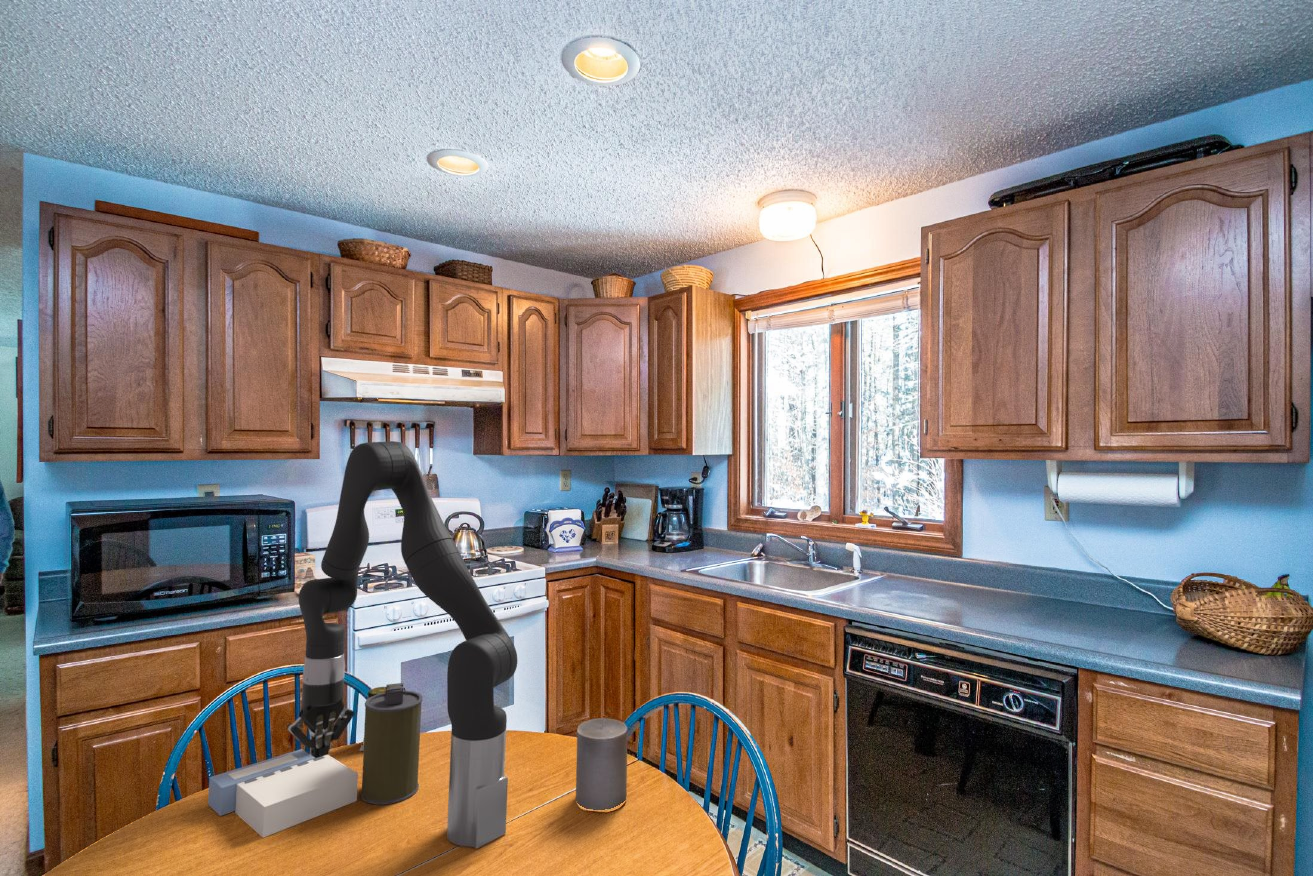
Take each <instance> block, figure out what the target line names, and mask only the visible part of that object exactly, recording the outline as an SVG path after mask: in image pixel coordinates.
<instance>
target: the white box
mask: <svg viewBox="0 0 1313 876" xmlns="http://www.w3.org/2000/svg"><path fill="white" fill-rule="evenodd" d="M358 782H359V773H358V772H357V771H355V770H354V769H351V768H350V767H348V766H347V765H346V764H343V763H342V762H340V761H338V760H337V759H336V758H334V757H332V756H330V755H329V754H328V755H325V756H322V757H319V758H316V759H312V760H309V761H306V762H303V763H300V764H297V765H294V766H291V767H288V768H285V769H282V770H278V771H275V772H272V773H269V774H266V775H263V776H260V777H257V778H254V779H251V780H248V781H244V782H241V783H238V784H237V790H236V807H235V811H234V812H235V814H236V815H237V816H238V817H240V819H241V820H243V821H244V822H245V823H246V824H247V825H248V826H250V828H251V829H253V830H254V831H255V832H256V833H257V834H258V835H259V836H260V837H261V838H266V837H268V836H271V835H273V834H276V833H279V832H281V831H283V830H287V829H288V828H291V827H293V826H296V825H299V824H302V823H304V822H306V821H309V820H311V819H314V818H317V817H319V816H322V815H324V814H327V813H330V812H333V811H335V810H336V809H339V808H343V807H344V806H347V805H350V804H353V803H355V802H357V801H358V786H359V785H358Z"/></svg>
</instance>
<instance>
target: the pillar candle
mask: <svg viewBox="0 0 1313 876" xmlns="http://www.w3.org/2000/svg"><path fill="white" fill-rule="evenodd" d="M576 731H577V733H576V770H575V771H576V775H575V777H576V779H575V802H576V801H577V803H578V804H579V805H580V806H582V807H584V808H586V809H593V810H605V809H611V808H614V807H616V806H618V805H620V804H621V803H623V802H624V801H625V800H626V801H627V799H626V797H627V794H628V791H627V788H628V782H627V781H628V776H627V775H628V726H627V725H626V724H625V723H624V722H623V721H621V720H619V719H613V718H605V717H604V718H600V717H599V718H592V719H588V720H585V721H583V722H581V723H580V724H579V725H578V726H577V730H576Z"/></svg>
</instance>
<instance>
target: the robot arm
mask: <svg viewBox="0 0 1313 876" xmlns="http://www.w3.org/2000/svg"><path fill="white" fill-rule="evenodd" d="M342 480H343V481H342V486H341V491H340V497H339V502H338V508H337V515H336V519H335V523H334V526H333V531H332V533H331V536H330V538H329V541H328V544H327V547H326V549H325V550H324V551H325V552H324V554H323V557H322V560H321V563H320V564H321V565H320V568H321V571H322V573H323V574H324V575H326V576H328V577H326V578H316V579H310V580H308V581H306V582H305V583H304V584H303V585H302V586H301V588H300V590H299V593H298V605H299V609H300V613H301V615H302V620H303V624H304V630H305V637H306V639H305V640H306V641H305V642H306V643H305V657H304V658H305V659H304V664H303V672H302V673H303V674H302V676H301V677H302V686H301V687H302V689H301V690H302V692H301V709H300V711H299V713H298V718H297V719H296V720H295V721H294V722H292V723H288V724H287V726H286V730H287V731H288V732H289V733H290V734H291V735H292V736H293V737H294V738H295V739H296V740H297V741H298V742H299V743H300V744H301V745H303V747H305V748H307V749H310V748H311V749H310V755H312V756H313V757H315V759H316V758H319V757H322V756H325V755H329V748H330V744H331V743H332V742H333V741H338V740H339V739H340V737H341V735H342V734H343V732H344V731H345V730H346V728H347V726H348V725H349V724H350V722H351V720H352V719H353V718H354V716H355V711H354V710H352V709H350V708H348V707H345V706H346V705H345V702H344V701H343V698H344V693H345V692H344V688H345V687H344V686H345V669H346V660H345V645H346V644H345V642H346V641H345V640H346V628H345V626H344V625H342V624H340V623H336V622H326V621H325V619H324V615H325V614H330V613H338V612H343V611H345V610H348V609H350V608H351V607H352V606H353V605H354V603H355V602H356V600H357V597H358V582H359V571H360V567H361V564H362V561H363V560H364V557H365V555H366V552H367V549H368V547H369V541H370V532H369V528H368V524H367V519H366V517H365V507H366V504H367V502H368V500H369V499H370V496H371V494H372V493H373V492H374V491H375V492H376V491H382V490H383V491H384V490H391V491H393V493H394V495H395V496H396V499H397V501H398V503H399V505H400V508H401V510H402V514H403V524H402V533H401V540H400V541H401V542H400V552H401V556H402V559H403V562H404V564H405V565H406V567H407V570H408V571H409V572H408V573H409V574H410V576H411V578H412V580H413V582H414V583H415V585H416V587H417V588H418V589H419V591H420V592H421V593H423V595H425V596H426V597H427V599H429V600H430V601H431V602H433V603H434V604H436V606H438V607H439V608H441V609H442V610H443V611H444V612H445V613H446V614H448V616H450V618H452V620H453V621H454V622H455V624H457V626H458V628H459V630H460V631H461V633H462V635H463V638H464V639H465V640H464V641H462V642H460V643H459V644H457V645H456V646H455V647H453V650H452V652H451V653H450V655H449V658H448V663H447V675H446V679H447V681H446V685H447V688H446V689H447V690H446V693H447V694H446V695H447V697H446V698H447V700H446V701H447V702H446V703H447V715H448V718H449V720H450V723H451V732H450V733H451V734H450V757H449V775H448V776H449V779H448V798H447V799H448V800H447V802H448V803H447V823H446V824H447V826H446V827H447V828H446V838H447V839H448V840H449V842H450V843H452V844H455V845H457V846H461V847H471V848H474V849H479V848H481V847H483V846H485V845H486V844H488V843H490V842H493V841H494V840H496V839H498V838H500V837H502V836H504V835H505V834H506V833H507V814H508V813H507V810H508V809H507V808H508V807H507V806H508V782H509V781H508V779H509V778H508V777H507V776H505V769H506V768H505V766H506V765H505V764H506V763H505V762H506V745H507V744H506V743H507V742H506V740H507V739H506V738H507V721H508V719H507V713H506V710H505V709H503V708H502V707H500V706H498V705H495V698H494V696H495V695H494V689H495V688H496V687H497V686H499V685H501V684H503V683H505V682H507V681H508V680H510V679H511V678H512V677H513V676H514V674H515V673H516V670H517V667H518V654H517V653H518V652H517V650H516V646H515V644H514V642H513V640H512V639H511V636H510V635H509V634H508V632H507V631H506V629H505V628H504V627H503V625H502V623H501V622H500V620H499V619H498V617H497V616H496V614H495V613H494V612H493V610H492V608H491V607H490V606H489V603H488V602H487V601H486V599H485V597H484V596H483V594H482V591H480V588H479V586H478V585H477V583H476V581H475V579H474V578H473V576H472V574H471V572H470V570H469V568H468V567H467V565H466V562H465V561H464V558H463V557H462V554H461V552H460V550H459V548H458V547H457V544H456V543H455V541H454V539H453V537H452V535H451V534H450V532H449V531H448V528H447V527H446V525H445V523H444V521H443V519H442V517H441V515H440V513H439V511H438V509H437V506H436V505H435V502H434V500H433V498H432V496H431V494H430V491H429V489H428V486H427V484H426V480H425V479H424V477H423V474H422V472H421V469H420V466H419V464H418V461H417V460H416V457H415V455H414V454H413V451H412V450H411V449H410V447H408V446H407V445H406V444H405V443H403V442H401V441H396V440H395V441H394V440H393V441H392V440H391V441H371V442H370V441H367V442H363V443H359V444H357V445H356V446H354V448H353V449H352V450H351V452H350V453H349V456H348V459H347V462H346V465H345V470H344V474H343V479H342ZM303 724H304V725H305V727H307V729H308V732H309V737H308V736H307V735H306V734H305V733H304V732H303V731H304V725H303Z"/></svg>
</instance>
